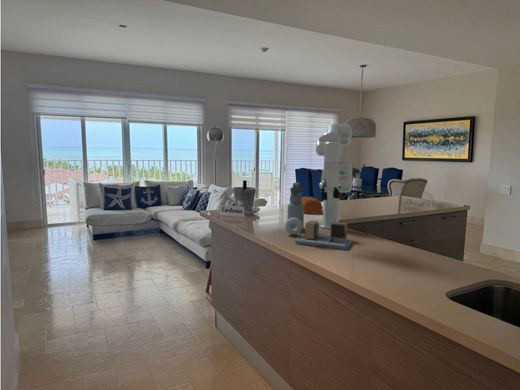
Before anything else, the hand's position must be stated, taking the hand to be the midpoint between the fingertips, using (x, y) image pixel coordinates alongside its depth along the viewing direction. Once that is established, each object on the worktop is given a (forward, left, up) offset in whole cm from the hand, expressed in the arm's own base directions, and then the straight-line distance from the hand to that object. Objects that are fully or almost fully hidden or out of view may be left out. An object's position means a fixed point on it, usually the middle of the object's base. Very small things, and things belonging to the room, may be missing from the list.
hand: (330, 199), depth 182 cm
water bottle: (-19, -25, -23) cm, 39 cm away
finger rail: (+7, -1, -22) cm, 23 cm away
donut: (-4, -21, -23) cm, 31 cm away
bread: (-85, -36, -23) cm, 95 cm away
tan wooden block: (-6, +4, -22) cm, 24 cm away
